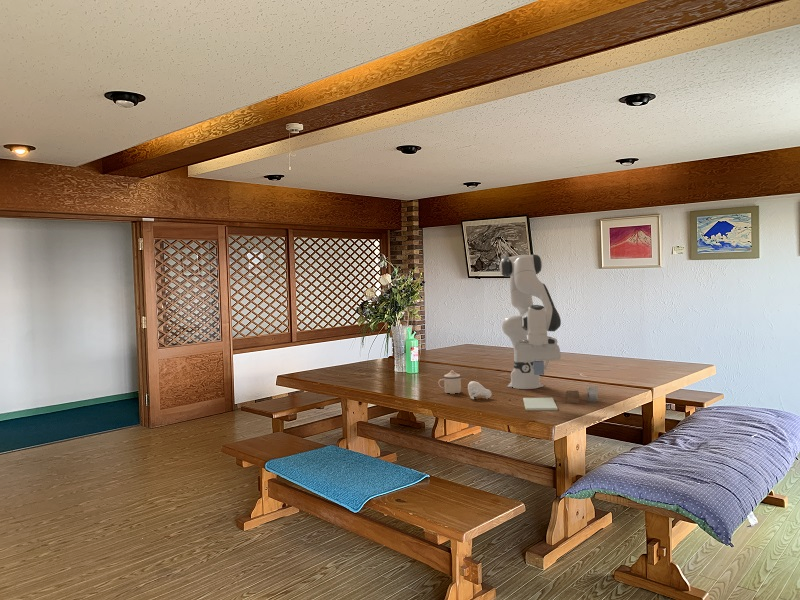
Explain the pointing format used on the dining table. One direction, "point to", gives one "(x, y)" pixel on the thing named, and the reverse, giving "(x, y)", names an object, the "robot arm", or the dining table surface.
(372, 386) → the dining table surface
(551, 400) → the sage board
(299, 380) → the dining table surface
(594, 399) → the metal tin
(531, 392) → the dining table surface
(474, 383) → the white figurine
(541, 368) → the slate blue block
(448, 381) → the teacup with lid
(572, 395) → the walnut block
